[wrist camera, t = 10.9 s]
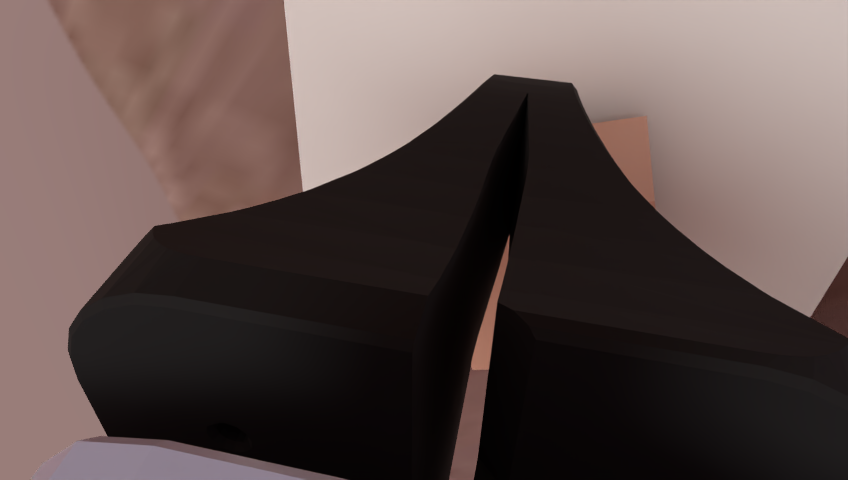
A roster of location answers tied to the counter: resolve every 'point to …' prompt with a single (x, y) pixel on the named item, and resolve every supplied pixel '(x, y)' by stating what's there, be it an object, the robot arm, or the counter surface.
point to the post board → (616, 105)
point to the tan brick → (634, 160)
